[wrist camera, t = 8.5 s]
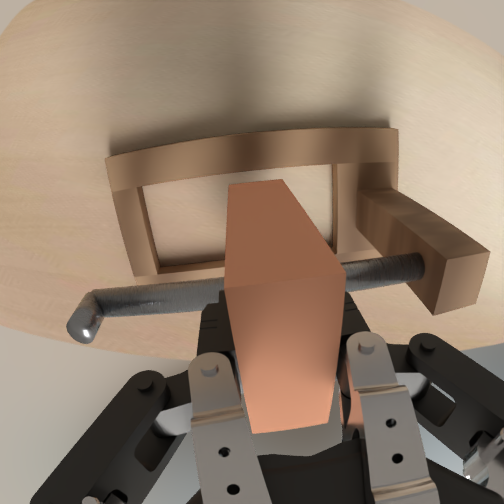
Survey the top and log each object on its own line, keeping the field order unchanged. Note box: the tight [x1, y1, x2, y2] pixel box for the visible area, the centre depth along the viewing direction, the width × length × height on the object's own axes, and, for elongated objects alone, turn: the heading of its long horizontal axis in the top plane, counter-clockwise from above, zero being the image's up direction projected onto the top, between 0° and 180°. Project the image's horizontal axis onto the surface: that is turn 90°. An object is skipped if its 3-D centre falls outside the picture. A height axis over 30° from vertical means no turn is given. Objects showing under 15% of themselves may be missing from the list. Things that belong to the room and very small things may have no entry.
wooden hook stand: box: [105, 127, 490, 316], centre depth 17 cm, size 21×12×12 cm, turn 96°
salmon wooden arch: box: [224, 179, 346, 434], centre depth 13 cm, size 7×3×10 cm, turn 6°
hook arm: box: [66, 252, 425, 344], centre depth 13 cm, size 17×1×3 cm, turn 96°
